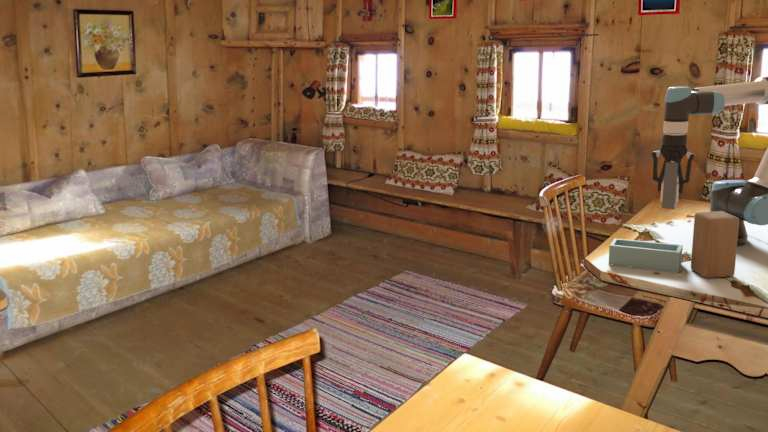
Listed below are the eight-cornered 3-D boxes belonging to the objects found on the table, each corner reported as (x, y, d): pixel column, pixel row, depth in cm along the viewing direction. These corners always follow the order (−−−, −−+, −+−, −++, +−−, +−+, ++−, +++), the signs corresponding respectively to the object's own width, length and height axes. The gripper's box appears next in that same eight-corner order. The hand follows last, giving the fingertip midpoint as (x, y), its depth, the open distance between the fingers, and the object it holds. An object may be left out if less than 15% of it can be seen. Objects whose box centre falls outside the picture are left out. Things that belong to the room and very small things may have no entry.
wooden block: (689, 269, 222) (693, 211, 217) (717, 267, 223) (722, 209, 218) (705, 279, 213) (710, 219, 207) (735, 277, 213) (741, 217, 208)
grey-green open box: (681, 264, 227) (682, 244, 225) (678, 272, 219) (679, 252, 218) (613, 256, 238) (614, 238, 236) (608, 264, 230) (609, 245, 228)
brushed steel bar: (675, 206, 228) (679, 161, 224) (674, 209, 225) (678, 163, 220) (663, 205, 230) (667, 160, 226) (661, 208, 226) (665, 162, 222)
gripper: (704, 133, 220) (697, 201, 226) (649, 131, 228) (644, 197, 234) (702, 136, 213) (695, 206, 219) (646, 133, 222) (641, 201, 228)
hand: (669, 201), depth 227 cm, fingers closed on brushed steel bar, 4 cm apart
